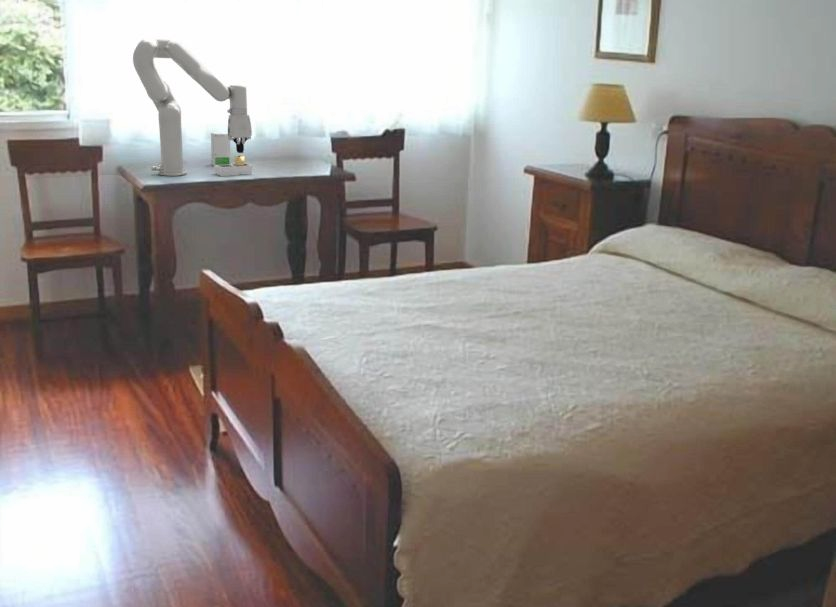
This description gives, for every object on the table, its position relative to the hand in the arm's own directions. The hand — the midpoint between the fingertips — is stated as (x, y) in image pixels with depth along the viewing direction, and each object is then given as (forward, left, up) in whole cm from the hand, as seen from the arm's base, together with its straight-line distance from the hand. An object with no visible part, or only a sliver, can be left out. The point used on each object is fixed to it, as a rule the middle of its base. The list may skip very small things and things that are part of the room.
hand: (240, 152), depth 426 cm
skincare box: (+2, +27, -10) cm, 29 cm away
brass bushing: (0, 0, -10) cm, 10 cm away
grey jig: (-4, 0, -10) cm, 10 cm away
